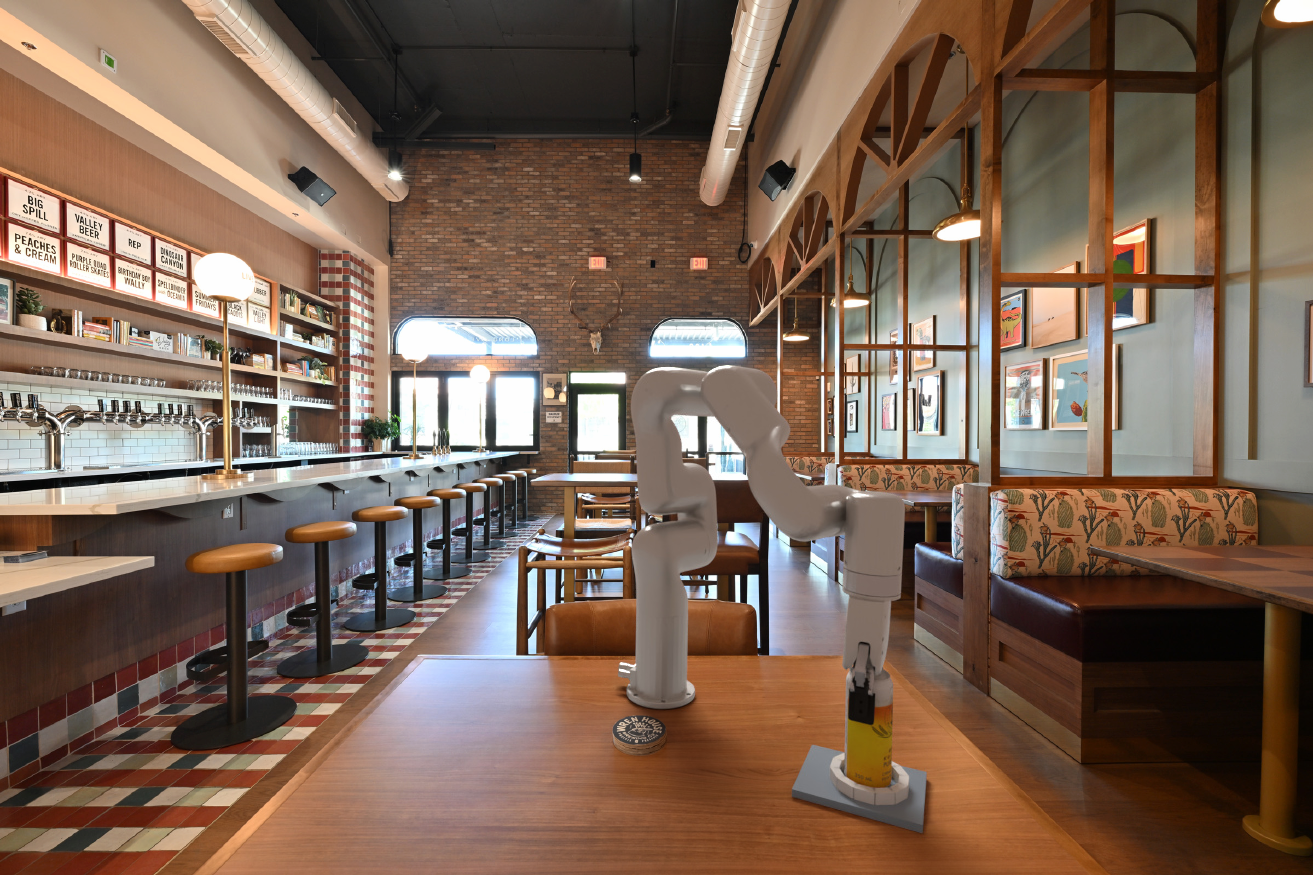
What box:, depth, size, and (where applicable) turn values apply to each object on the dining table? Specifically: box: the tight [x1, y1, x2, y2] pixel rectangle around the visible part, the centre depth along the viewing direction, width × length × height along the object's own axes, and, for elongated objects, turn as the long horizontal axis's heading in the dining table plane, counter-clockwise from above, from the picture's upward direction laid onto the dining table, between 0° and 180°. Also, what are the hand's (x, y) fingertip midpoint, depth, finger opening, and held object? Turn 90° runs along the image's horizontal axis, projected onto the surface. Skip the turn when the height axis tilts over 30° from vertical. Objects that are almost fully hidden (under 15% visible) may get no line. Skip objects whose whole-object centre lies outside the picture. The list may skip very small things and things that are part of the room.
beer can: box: [844, 666, 894, 788], centre depth 83 cm, size 6×6×15 cm
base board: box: [791, 744, 928, 834], centre depth 83 cm, size 16×13×2 cm
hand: (865, 706), depth 83 cm, fingers open, 9 cm apart
